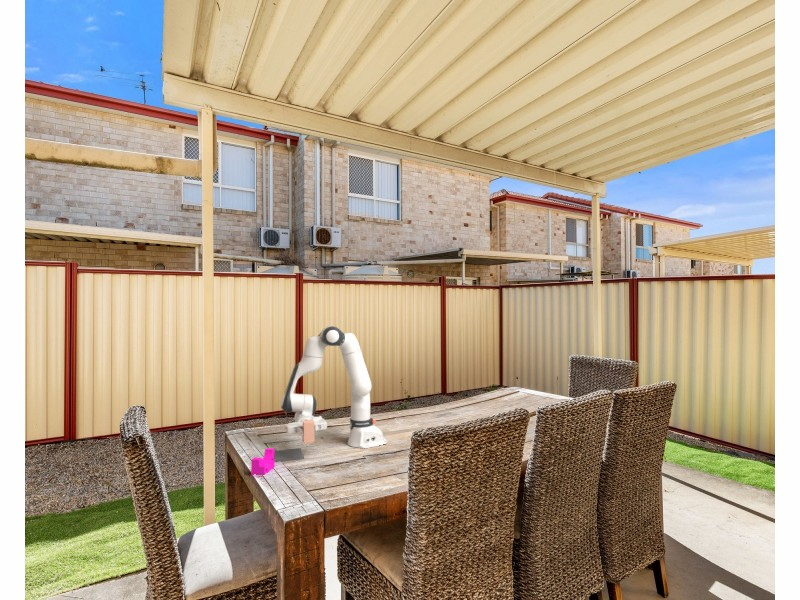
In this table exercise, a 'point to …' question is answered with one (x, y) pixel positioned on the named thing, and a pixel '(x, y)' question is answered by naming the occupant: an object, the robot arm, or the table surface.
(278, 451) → the mat
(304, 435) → the pillar block
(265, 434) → the table surface
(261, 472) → the toy block
